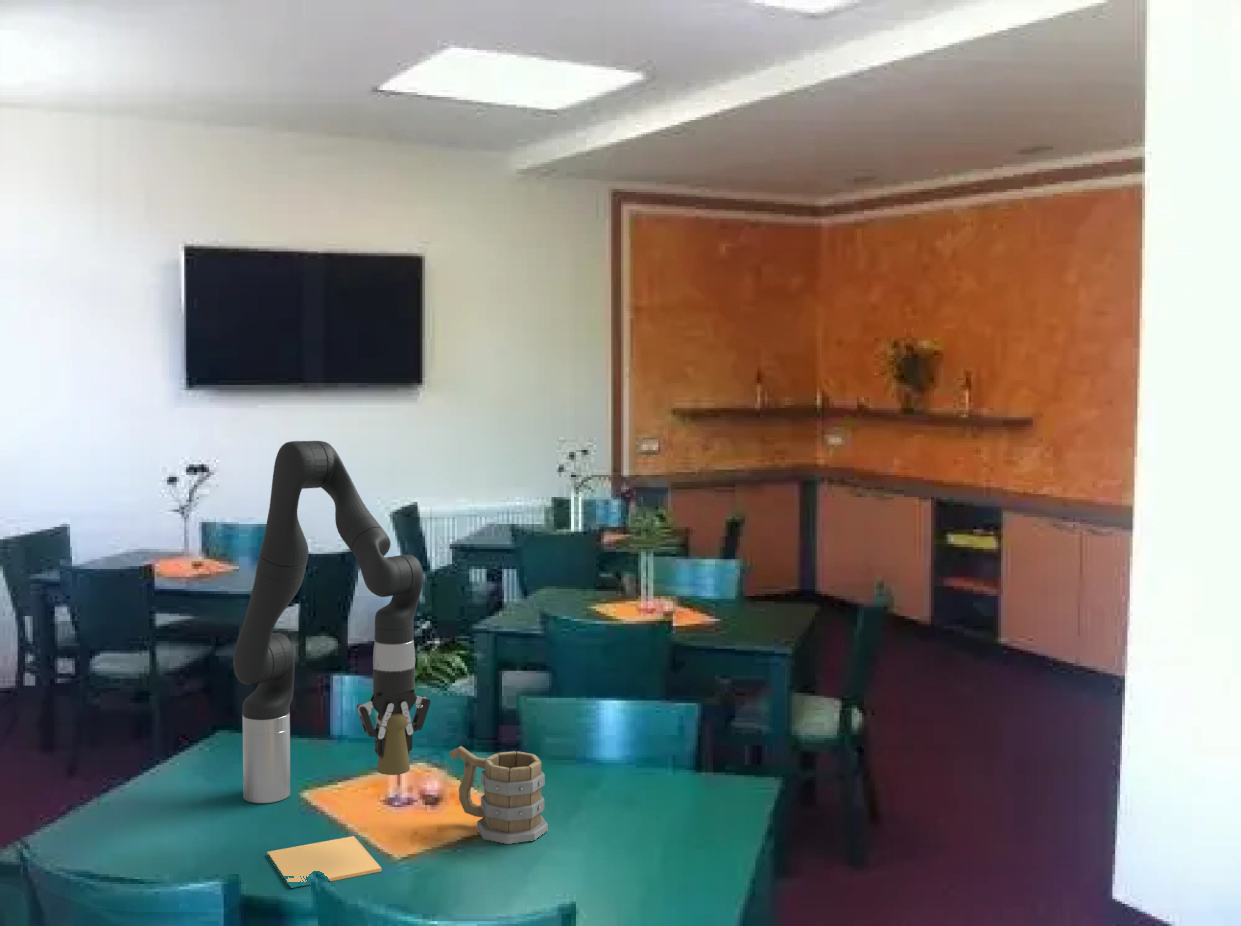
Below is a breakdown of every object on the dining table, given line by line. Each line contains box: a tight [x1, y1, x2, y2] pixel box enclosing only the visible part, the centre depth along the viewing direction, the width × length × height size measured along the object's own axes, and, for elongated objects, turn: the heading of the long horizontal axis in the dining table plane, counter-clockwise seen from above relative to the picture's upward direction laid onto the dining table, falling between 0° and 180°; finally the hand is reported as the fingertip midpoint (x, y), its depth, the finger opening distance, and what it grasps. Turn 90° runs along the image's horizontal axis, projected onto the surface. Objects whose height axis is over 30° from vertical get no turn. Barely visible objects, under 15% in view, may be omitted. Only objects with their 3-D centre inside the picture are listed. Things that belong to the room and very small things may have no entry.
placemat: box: [267, 835, 382, 882], centre depth 223 cm, size 16×16×1 cm
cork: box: [376, 713, 411, 776], centre depth 230 cm, size 6×6×11 cm
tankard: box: [448, 745, 549, 845], centre depth 240 cm, size 20×13×15 cm, turn 65°
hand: (393, 754), depth 230 cm, fingers closed on cork, 4 cm apart
